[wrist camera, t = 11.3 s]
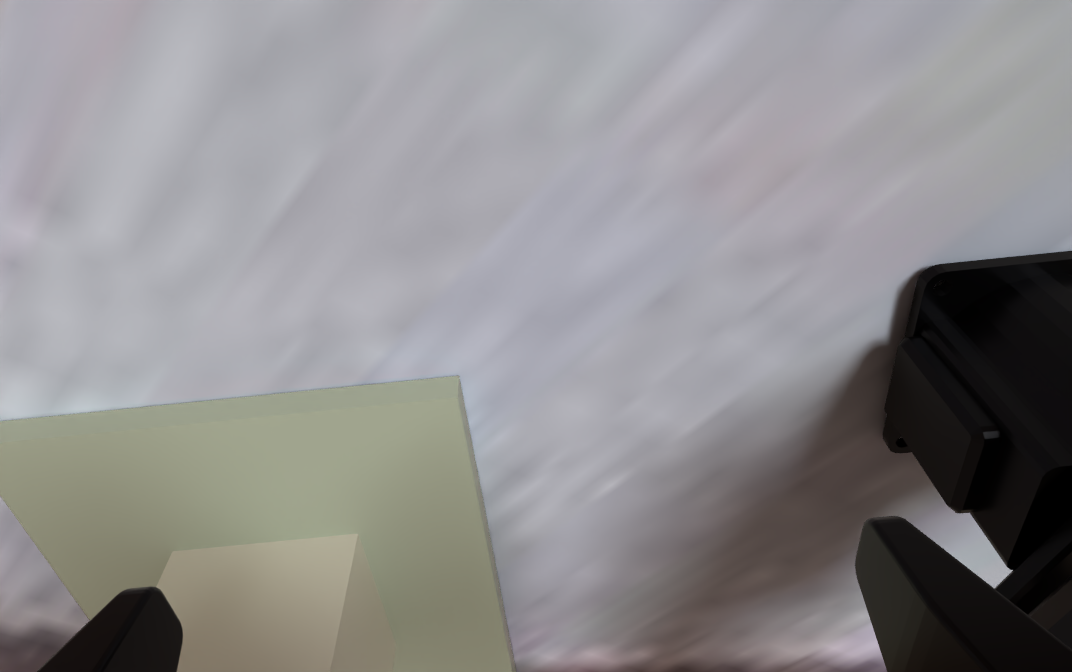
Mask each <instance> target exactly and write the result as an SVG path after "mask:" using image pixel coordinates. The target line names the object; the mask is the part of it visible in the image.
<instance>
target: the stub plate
mask: <svg viewBox="0 0 1072 672" xmlns="http://www.w3.org/2000/svg"><path fill="white" fill-rule="evenodd" d="M0 496H1V497H2V499H3V500H4V501H5V503H6V504H7V506H8V507H9V508H10V510H11V511H12V513H13V514H14V515H15V517H16V518H17V520H18V521H19V522H20V524H21V525H22V526H23V528H24V529H25V531H26V532H27V533H28V535H29V536H30V538H31V539H32V540H33V542H34V543H35V545H36V546H37V547H38V549H39V550H40V552H41V553H42V554H43V556H44V557H45V559H46V560H47V561H48V563H49V564H50V566H51V567H52V568H53V570H54V571H55V572H56V574H57V575H58V577H59V578H60V579H61V581H62V582H63V584H64V585H65V586H66V588H67V589H68V591H69V592H70V593H71V595H72V596H73V598H74V599H75V600H76V602H77V603H78V605H79V606H80V607H81V609H82V610H83V612H84V613H85V614H86V616H87V617H88V618H89V620H91V619H92V618H93V617H94V616H95V615H96V614H97V613H98V612H99V611H100V610H102V609H103V608H104V607H105V606H106V605H107V604H108V603H109V602H110V601H111V600H112V599H113V598H114V597H115V596H116V595H117V594H119V593H120V592H122V591H123V590H126V589H130V588H138V587H149V586H154V587H156V586H157V584H158V582H159V580H160V578H161V575H162V573H163V571H164V569H165V567H166V564H167V562H168V560H169V558H170V556H171V553H172V551H181V550H192V549H202V548H213V547H223V546H233V545H244V544H254V543H265V542H275V541H286V540H296V539H306V538H317V537H327V536H338V535H348V534H358V535H359V537H360V540H361V543H362V546H363V549H364V552H365V555H366V558H367V561H368V564H369V567H370V569H371V572H372V575H373V578H374V581H375V584H376V587H377V590H378V593H379V596H380V599H381V602H382V604H383V607H384V610H385V613H386V616H387V619H388V622H389V625H390V628H391V631H392V634H393V637H394V639H395V642H396V649H395V657H394V664H393V672H516V668H515V663H514V657H513V652H512V647H511V642H510V637H509V632H508V626H507V621H506V616H505V611H504V606H503V600H502V595H501V590H500V585H499V580H498V575H497V569H496V564H495V559H494V554H493V549H492V544H491V538H490V533H489V528H488V523H487V518H486V512H485V507H484V502H483V497H482V492H481V487H480V481H479V476H478V471H477V466H476V461H475V455H474V450H473V445H472V440H471V435H470V430H469V424H468V419H467V414H466V409H465V404H464V398H463V393H462V388H461V383H460V378H459V376H451V377H441V378H431V379H421V380H411V381H401V382H391V383H381V384H371V385H361V386H351V387H341V388H331V389H320V390H310V391H300V392H290V393H280V394H270V395H260V396H250V397H240V398H230V399H220V400H210V401H200V402H190V403H180V404H170V405H160V406H150V407H140V408H130V409H120V410H110V411H100V412H90V413H80V414H70V415H60V416H49V417H39V418H29V419H19V420H9V421H0Z"/></svg>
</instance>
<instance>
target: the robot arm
mask: <svg viewBox="0 0 1072 672" xmlns="http://www.w3.org/2000/svg"><path fill="white" fill-rule="evenodd" d="M942 280H945V281H944V283H943V284H942V285H941V286H939V287H937V288H934V286H935V285H936V284H937V283H938V282H939V281H942ZM933 288H934V289H933ZM885 412H886V414H887V417H886V421H885V425H884V430H883V440H884V441H885V443H886V445H887V446H888V448H889V449H890V450H891V451H892V452H894V453H909V452H912V453H913V454H914V456H915V457H916V459H917V460H918V462H919V463H920V465H921V466H922V468H923V469H924V471H925V472H926V474H927V475H928V477H929V478H930V480H931V482H932V483H933V485H934V486H935V488H936V489H937V491H938V492H939V494H940V495H941V497H942V498H943V500H944V501H945V503H946V504H947V505H948V506H949V507H950V508H951V509H952V510H954V511H955V512H956V513H969V512H970V514H971V515H972V517H973V518H974V520H975V521H976V522H977V524H978V525H979V527H980V528H981V530H982V531H983V533H984V534H985V535H986V537H987V538H988V540H989V541H990V543H991V544H992V546H993V547H994V548H995V550H996V551H997V553H998V554H999V556H1000V557H1001V559H1002V560H1003V562H1004V563H1005V564H1006V566H1007V567H1008V568H1009V569H1011V570H1013V571H1012V572H1011V573H1010V574H1009V575H1008V576H1007V577H1006V578H1005V579H1004V580H1003V581H1002V582H1001V583H1000V584H999V585H998V586H997V587H996V588H995V589H994V588H993V587H991V586H990V585H989V584H987V583H986V582H985V581H984V580H982V579H981V578H980V577H979V576H977V575H976V574H975V573H973V572H972V571H971V570H970V569H968V568H967V567H966V566H964V565H963V564H962V563H961V562H959V561H958V560H957V559H955V558H954V557H953V556H952V555H950V554H949V553H948V552H946V551H945V550H944V549H943V548H941V547H940V546H939V545H938V544H936V543H935V542H934V541H932V540H931V539H930V538H929V537H927V536H926V535H925V534H923V533H922V532H921V531H920V530H918V529H917V528H916V527H914V526H913V525H912V524H911V523H909V522H908V521H907V520H905V519H903V518H901V517H898V516H888V517H877V518H870V519H868V520H867V521H866V522H865V523H864V525H863V529H862V533H861V537H860V542H859V546H858V551H857V555H856V560H855V569H856V575H857V579H858V583H859V586H860V589H861V592H862V595H863V598H864V601H865V604H866V607H867V610H868V613H869V616H870V620H871V623H872V626H873V629H874V632H875V635H876V638H877V641H878V644H879V647H880V650H881V653H882V656H883V660H884V663H885V666H886V669H887V672H1072V251H1065V252H1055V253H1046V254H1036V255H1026V256H1016V257H1006V258H996V259H986V260H977V261H967V262H957V263H947V264H939V265H935V266H932V267H930V268H928V269H927V270H925V271H924V272H923V273H922V274H921V275H920V277H919V279H918V281H917V285H916V289H915V293H914V298H913V302H912V307H911V311H910V315H909V320H908V324H907V329H906V333H905V337H904V339H903V340H902V341H901V343H900V344H899V346H898V350H897V354H896V359H895V363H894V368H893V372H892V377H891V381H890V386H889V390H888V395H887V399H886V404H885ZM901 436H902V438H900V437H901ZM182 643H183V629H182V625H181V622H180V620H179V619H178V617H177V615H176V614H175V612H174V610H173V609H172V607H171V605H170V604H169V602H168V600H167V599H166V597H165V595H164V594H163V592H162V591H161V590H160V589H159V588H157V587H154V586H149V587H138V588H130V589H126V590H123V591H122V592H120V593H119V594H117V595H116V596H115V597H114V598H113V599H112V600H111V601H110V602H109V603H108V604H107V605H106V606H105V607H104V608H103V609H102V610H100V611H99V612H98V613H97V614H96V615H95V616H94V617H93V618H92V619H91V620H90V621H89V622H88V623H87V624H86V625H85V626H84V627H83V628H82V629H81V630H80V631H79V632H78V633H76V634H75V635H74V636H73V637H72V638H71V639H70V640H69V641H68V642H67V643H66V644H65V645H64V646H63V647H62V648H61V649H60V650H59V651H58V652H57V653H56V654H55V655H54V656H52V657H51V658H50V659H49V660H48V661H47V662H46V663H45V664H44V665H43V666H42V667H41V668H40V669H39V670H38V671H37V672H177V668H178V663H179V658H180V653H181V648H182Z"/></svg>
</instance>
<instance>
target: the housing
mask: <svg viewBox="0 0 1072 672" xmlns="http://www.w3.org/2000/svg"><path fill="white" fill-rule="evenodd" d="M156 587H157V588H159V589H160V590H161V591H162V592H163V594H164V595H165V597H166V599H167V600H168V602H169V604H170V605H171V607H172V609H173V610H174V612H175V614H176V615H177V617H178V619H179V620H180V622H181V625H182V629H183V643H182V648H181V653H180V658H179V663H178V668H177V672H393V664H394V657H395V649H396V642H395V639H394V637H393V634H392V631H391V628H390V625H389V622H388V619H387V616H386V613H385V610H384V607H383V604H382V602H381V599H380V596H379V593H378V590H377V587H376V584H375V581H374V578H373V575H372V572H371V569H370V567H369V564H368V561H367V558H366V555H365V552H364V549H363V546H362V543H361V540H360V537H359V535H358V534H348V535H338V536H327V537H317V538H306V539H296V540H286V541H275V542H265V543H254V544H244V545H233V546H223V547H213V548H202V549H192V550H181V551H172V553H171V556H170V558H169V560H168V562H167V564H166V567H165V569H164V571H163V573H162V575H161V578H160V580H159V582H158V584H157V586H156Z"/></svg>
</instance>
